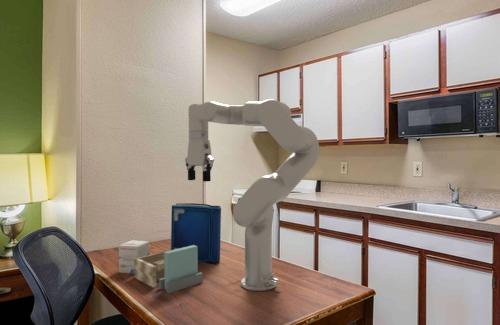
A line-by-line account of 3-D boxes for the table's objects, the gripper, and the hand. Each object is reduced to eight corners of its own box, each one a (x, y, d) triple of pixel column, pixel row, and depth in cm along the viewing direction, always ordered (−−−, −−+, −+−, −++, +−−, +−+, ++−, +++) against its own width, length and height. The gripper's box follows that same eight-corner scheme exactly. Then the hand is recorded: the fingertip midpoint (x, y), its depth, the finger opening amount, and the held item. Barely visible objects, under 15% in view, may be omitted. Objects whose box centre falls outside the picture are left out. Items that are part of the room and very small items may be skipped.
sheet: (197, 282, 120) (197, 246, 120) (168, 292, 112) (168, 253, 111) (193, 280, 122) (193, 245, 121) (164, 290, 113) (164, 251, 113)
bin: (192, 278, 126) (192, 257, 126) (153, 290, 115) (153, 267, 114) (172, 269, 136) (171, 249, 136) (134, 279, 124) (134, 258, 124)
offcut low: (181, 275, 125) (181, 266, 125) (157, 283, 118) (157, 273, 118) (175, 273, 128) (175, 264, 128) (151, 280, 121) (151, 270, 121)
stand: (206, 285, 119) (206, 273, 119) (169, 298, 108) (169, 285, 108) (191, 278, 125) (191, 267, 125) (155, 290, 115) (155, 278, 114)
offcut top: (177, 267, 125) (177, 259, 125) (159, 273, 119) (159, 264, 119) (171, 265, 127) (171, 257, 127) (153, 270, 121) (153, 262, 121)
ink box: (150, 269, 136) (150, 240, 136) (138, 276, 128) (137, 246, 127) (131, 267, 138) (131, 239, 138) (118, 274, 130) (118, 244, 130)
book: (222, 259, 148) (222, 203, 148) (219, 264, 141) (219, 205, 141) (175, 258, 150) (174, 202, 150) (170, 263, 143) (169, 205, 143)
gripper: (220, 135, 126) (220, 181, 127) (193, 137, 138) (193, 179, 139) (204, 135, 121) (204, 182, 121) (177, 137, 133) (178, 180, 134)
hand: (199, 180), depth 130 cm, fingers open, 9 cm apart
